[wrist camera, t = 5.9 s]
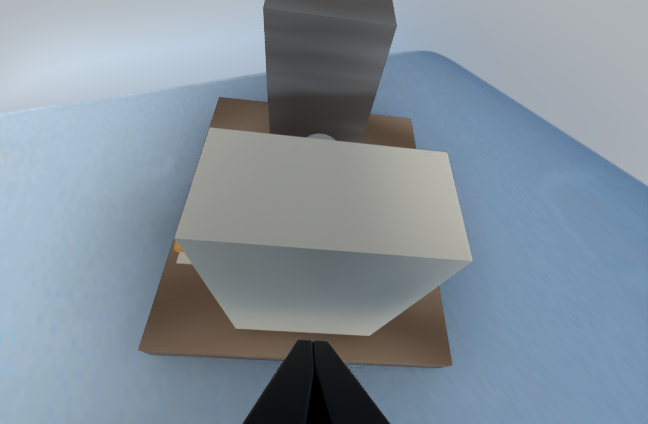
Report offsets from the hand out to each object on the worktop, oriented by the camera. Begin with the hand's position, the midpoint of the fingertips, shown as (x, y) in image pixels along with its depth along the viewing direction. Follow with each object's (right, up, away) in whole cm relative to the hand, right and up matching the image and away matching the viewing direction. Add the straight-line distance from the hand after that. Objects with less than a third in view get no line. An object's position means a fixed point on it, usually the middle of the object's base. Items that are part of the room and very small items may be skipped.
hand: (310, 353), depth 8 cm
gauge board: (0, +4, +11) cm, 12 cm away
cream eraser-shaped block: (0, +2, +7) cm, 7 cm away
